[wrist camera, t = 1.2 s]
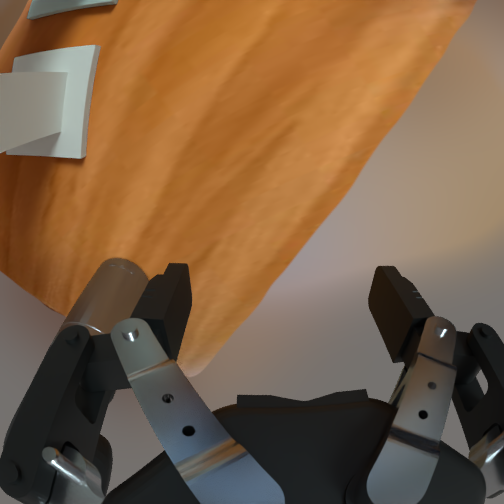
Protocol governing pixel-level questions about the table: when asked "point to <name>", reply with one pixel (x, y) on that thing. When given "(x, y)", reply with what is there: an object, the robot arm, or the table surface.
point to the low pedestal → (62, 6)
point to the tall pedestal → (48, 102)
